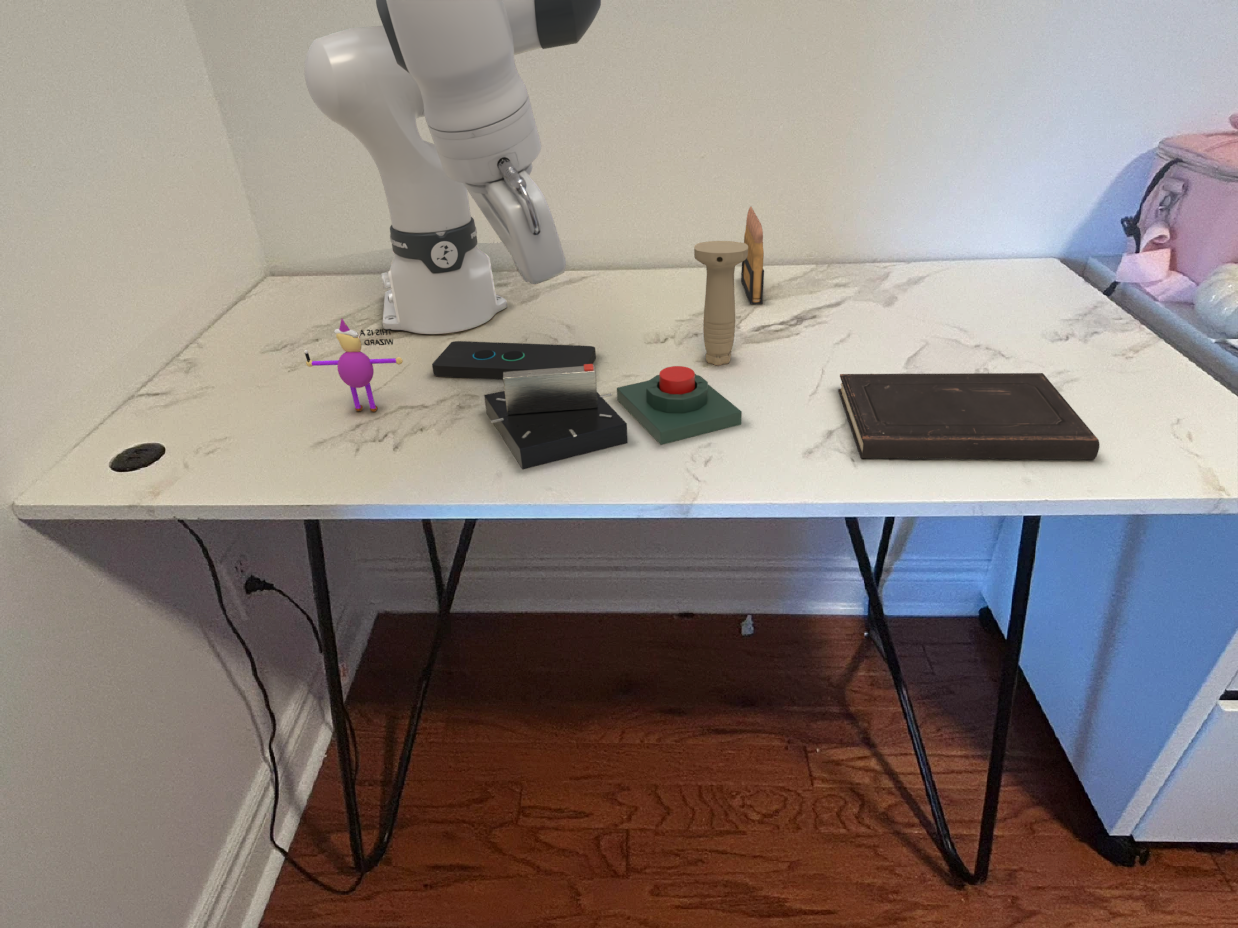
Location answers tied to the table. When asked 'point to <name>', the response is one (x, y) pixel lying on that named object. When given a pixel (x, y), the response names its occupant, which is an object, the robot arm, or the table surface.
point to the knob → (550, 389)
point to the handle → (719, 296)
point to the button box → (678, 410)
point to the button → (677, 380)
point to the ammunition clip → (753, 260)
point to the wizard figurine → (355, 362)
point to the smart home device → (507, 358)
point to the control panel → (556, 431)
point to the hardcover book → (963, 417)
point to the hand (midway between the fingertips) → (528, 273)
